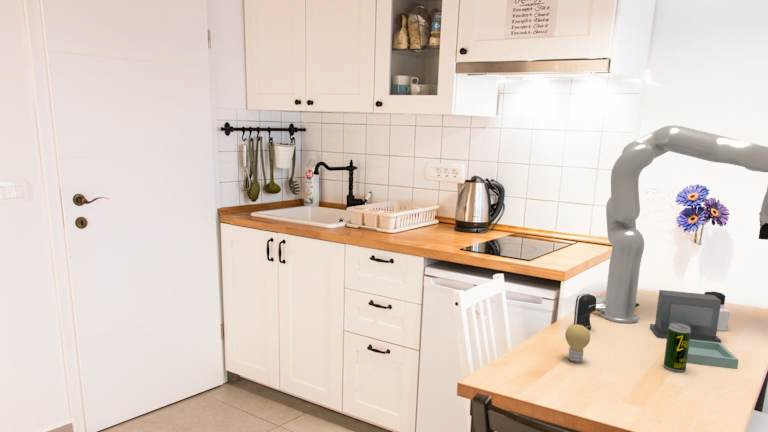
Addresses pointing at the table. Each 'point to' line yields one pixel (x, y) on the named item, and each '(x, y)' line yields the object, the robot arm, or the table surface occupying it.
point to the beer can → (677, 347)
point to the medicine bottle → (721, 311)
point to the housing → (688, 314)
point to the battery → (584, 310)
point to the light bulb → (577, 341)
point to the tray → (710, 354)
